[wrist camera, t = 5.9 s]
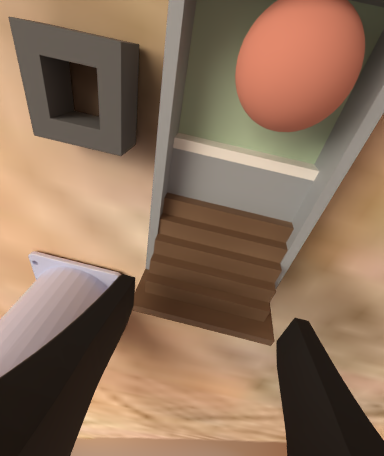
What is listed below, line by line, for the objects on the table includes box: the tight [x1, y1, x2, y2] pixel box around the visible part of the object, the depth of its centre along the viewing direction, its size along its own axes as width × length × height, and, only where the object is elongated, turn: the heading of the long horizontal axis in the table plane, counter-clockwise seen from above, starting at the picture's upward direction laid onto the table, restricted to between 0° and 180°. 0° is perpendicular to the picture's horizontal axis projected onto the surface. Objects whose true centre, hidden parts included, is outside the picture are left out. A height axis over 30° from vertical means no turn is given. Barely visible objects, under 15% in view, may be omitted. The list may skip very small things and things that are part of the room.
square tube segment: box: [9, 17, 139, 156], centre depth 11 cm, size 4×4×2 cm
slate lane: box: [146, 0, 384, 289], centre depth 11 cm, size 14×8×4 cm, turn 170°
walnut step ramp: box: [132, 192, 294, 346], centre depth 14 cm, size 6×8×5 cm
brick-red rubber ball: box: [235, 0, 365, 132], centre depth 8 cm, size 4×4×4 cm
